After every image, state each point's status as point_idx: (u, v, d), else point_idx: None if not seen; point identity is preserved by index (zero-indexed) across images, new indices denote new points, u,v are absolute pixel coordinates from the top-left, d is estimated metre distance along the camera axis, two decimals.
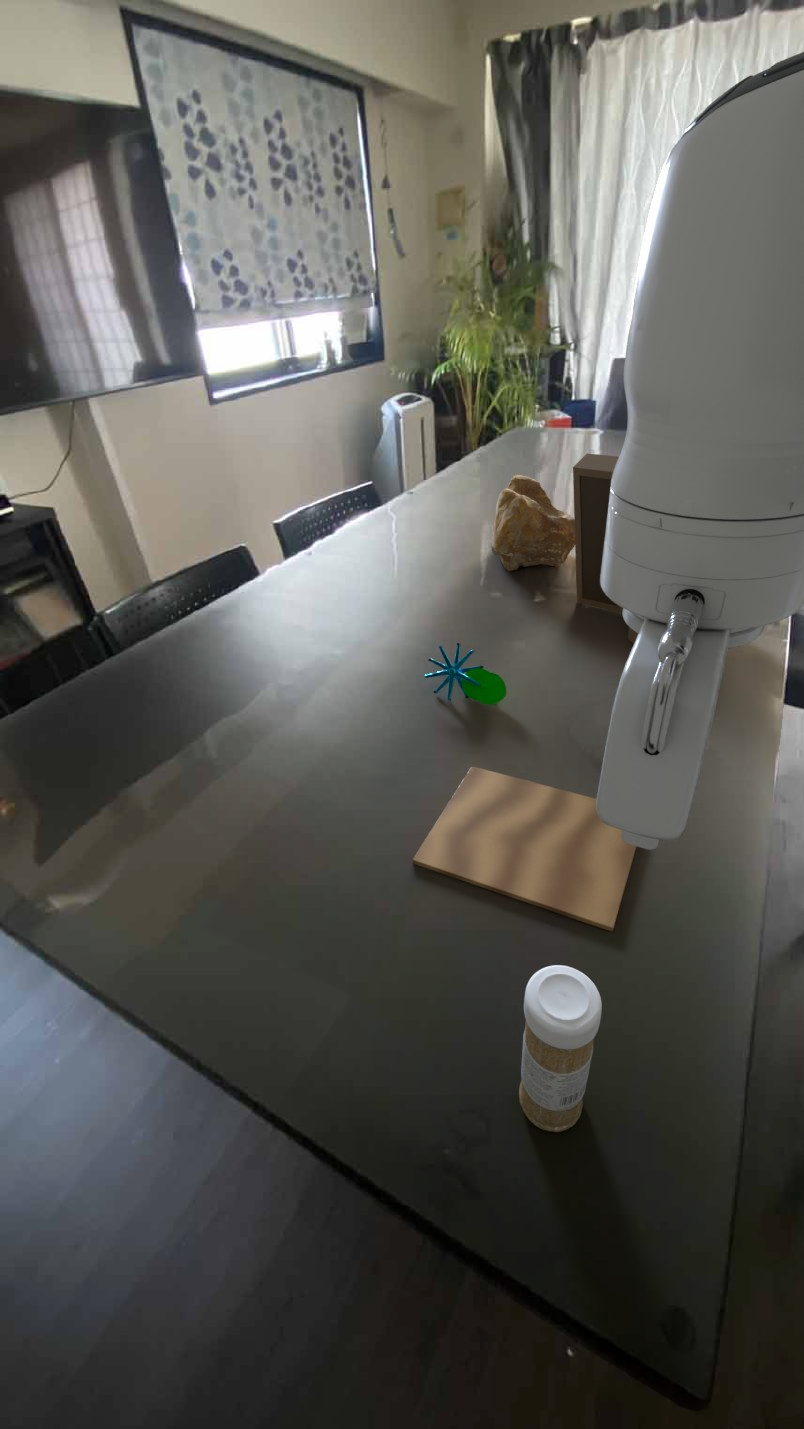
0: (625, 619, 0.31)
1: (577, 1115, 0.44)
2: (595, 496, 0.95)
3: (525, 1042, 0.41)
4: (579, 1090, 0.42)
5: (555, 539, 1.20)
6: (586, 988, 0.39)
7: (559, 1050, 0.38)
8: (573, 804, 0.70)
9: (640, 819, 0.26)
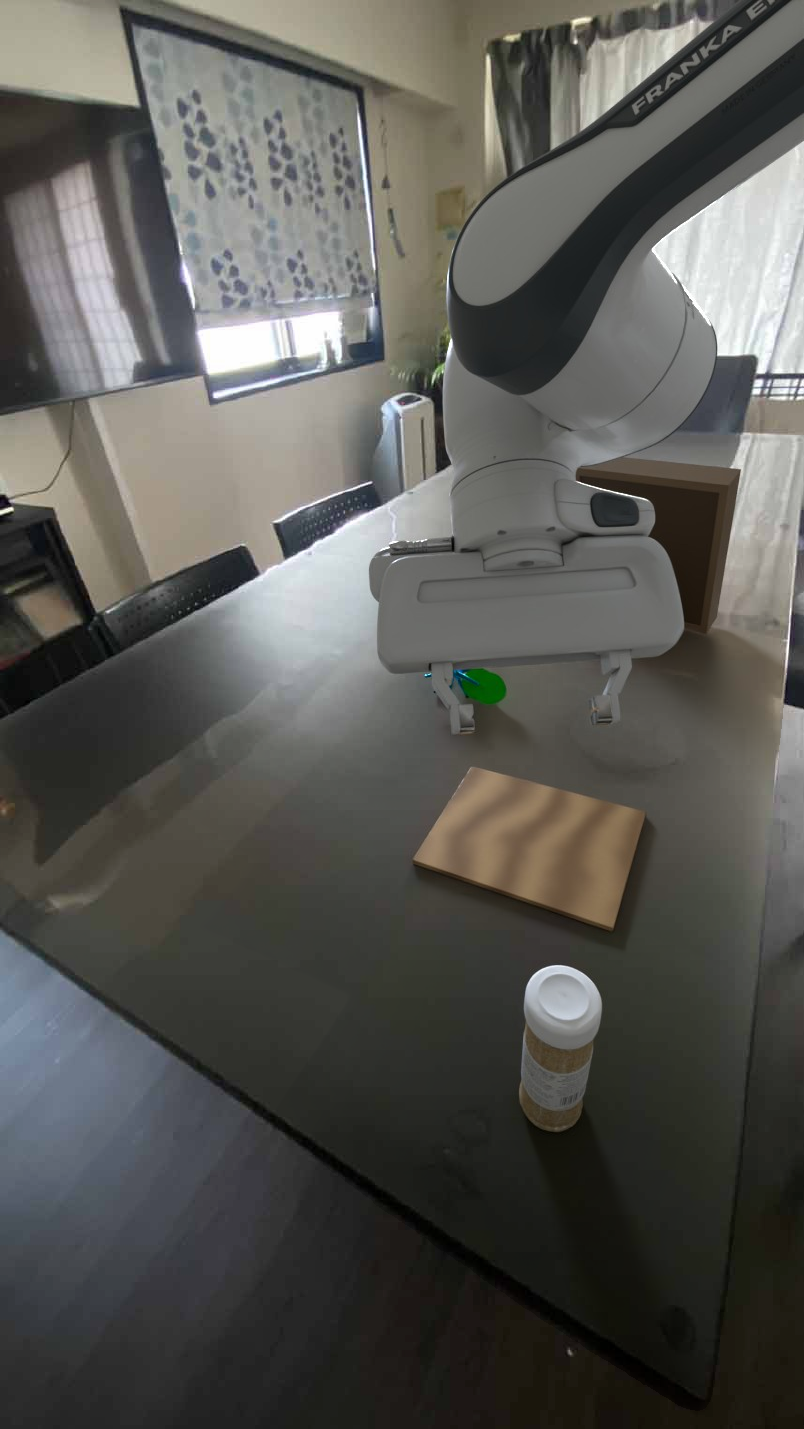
0: None
1: (577, 1115, 0.44)
2: None
3: (525, 1042, 0.41)
4: (579, 1090, 0.42)
5: None
6: (586, 988, 0.39)
7: (559, 1050, 0.38)
8: (573, 804, 0.70)
9: None
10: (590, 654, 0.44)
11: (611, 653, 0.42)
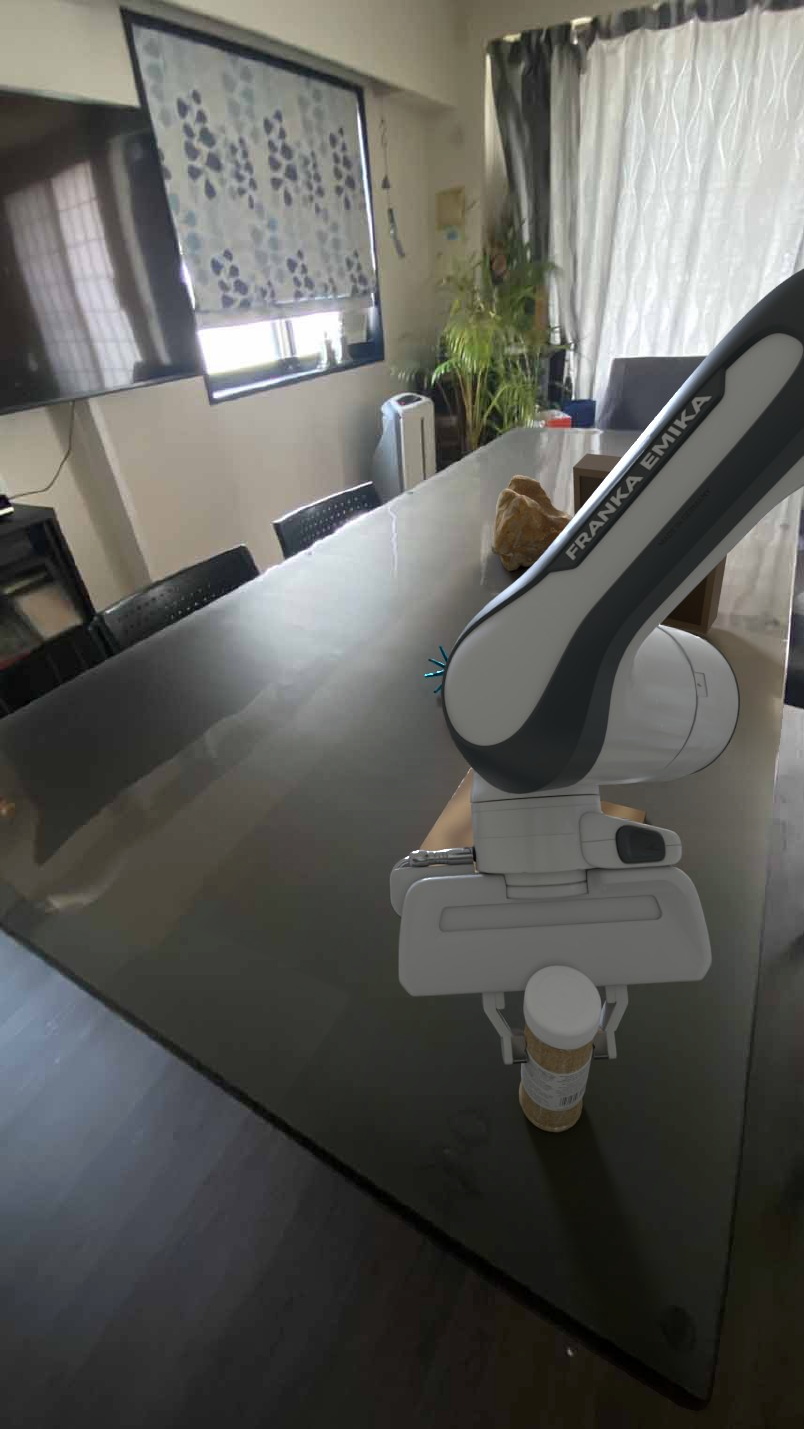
0: None
1: (577, 1115, 0.44)
2: None
3: None
4: (579, 1090, 0.42)
5: None
6: (586, 988, 0.39)
7: (559, 1050, 0.38)
8: None
9: None
10: None
11: (607, 986, 0.41)
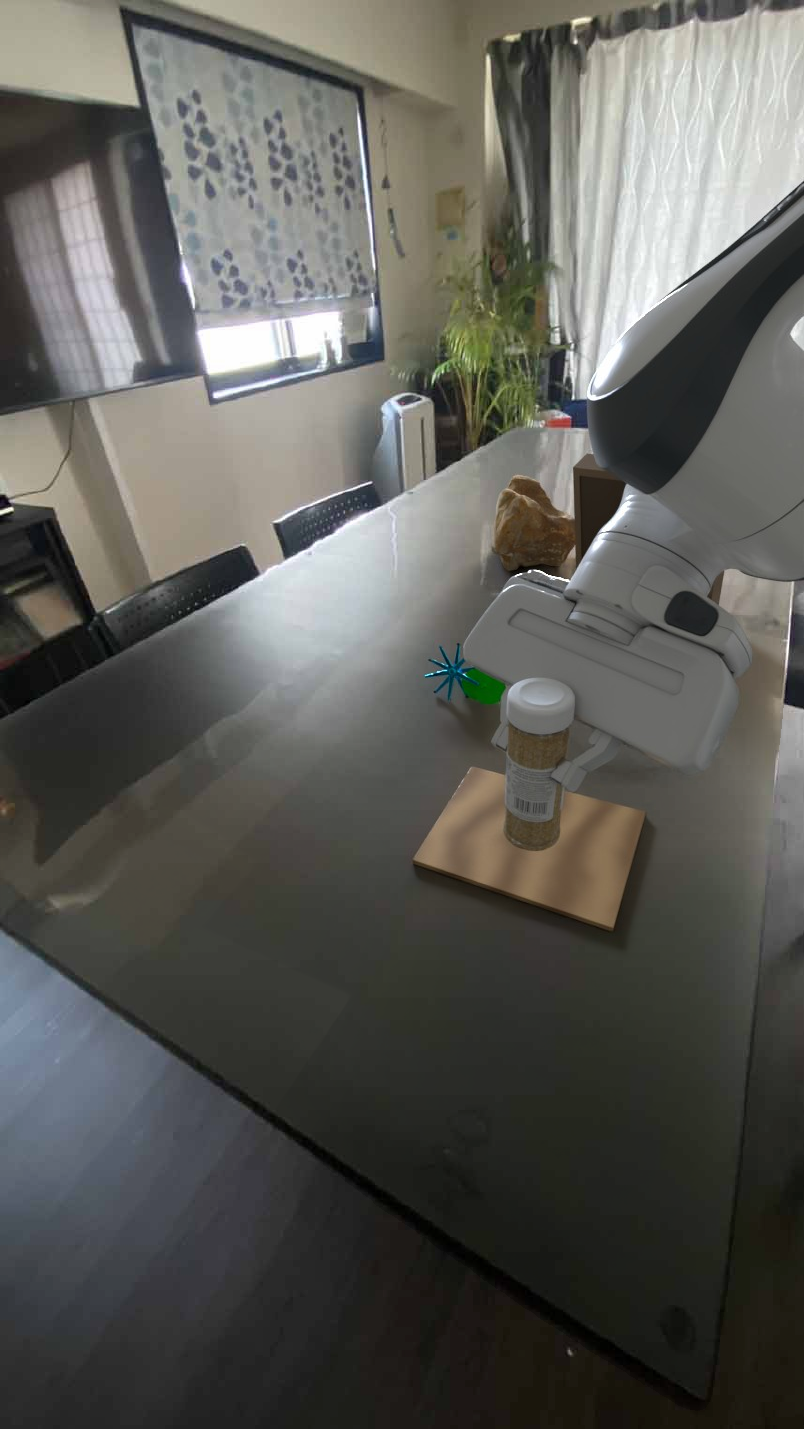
0: None
1: (534, 845, 0.49)
2: (595, 496, 0.95)
3: None
4: (531, 802, 0.46)
5: (555, 539, 1.20)
6: (562, 699, 0.43)
7: (513, 729, 0.44)
8: (573, 804, 0.70)
9: None
10: None
11: (596, 730, 0.43)
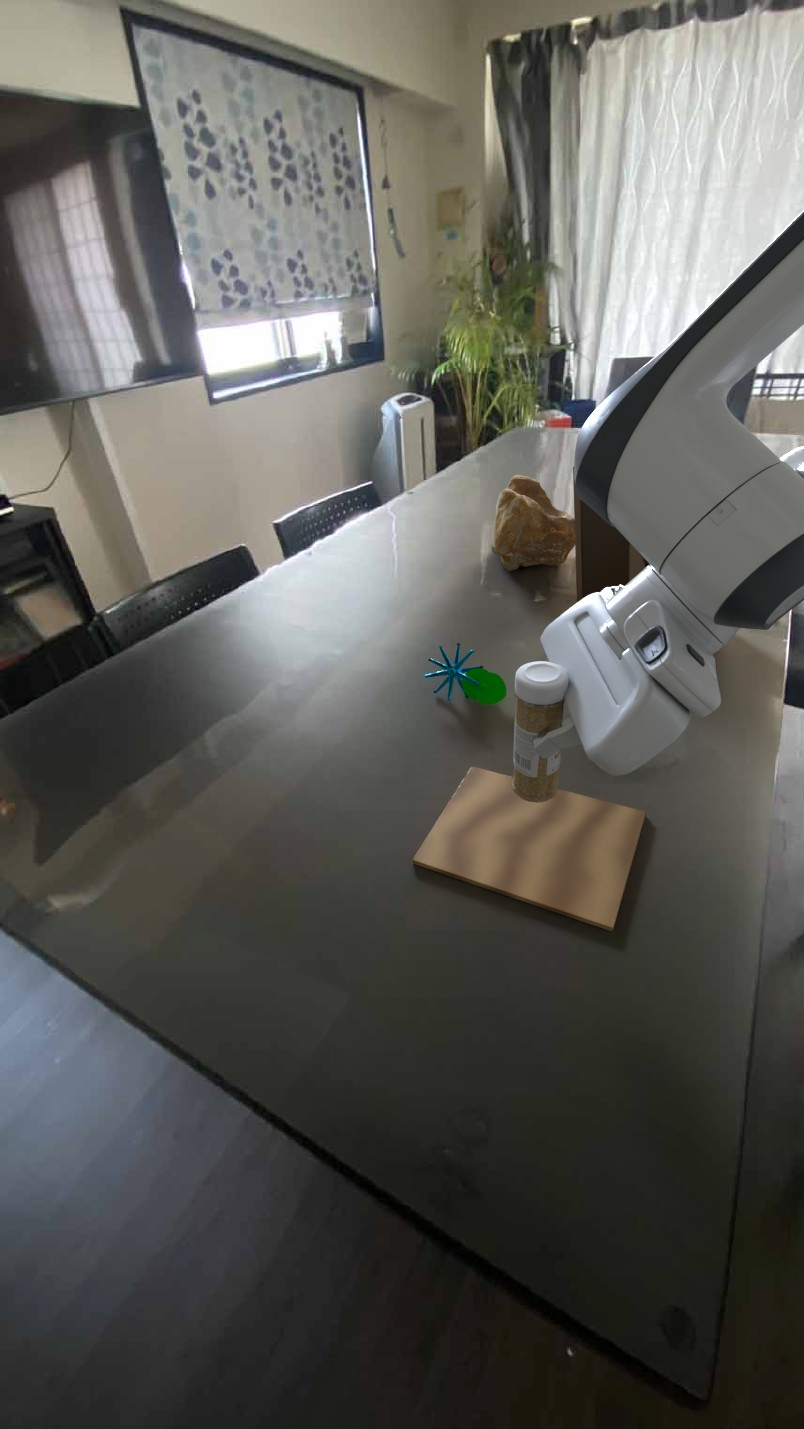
0: None
1: (523, 794, 0.61)
2: None
3: None
4: (520, 755, 0.59)
5: (555, 539, 1.20)
6: (550, 681, 0.54)
7: None
8: (573, 804, 0.70)
9: None
10: None
11: (571, 716, 0.54)
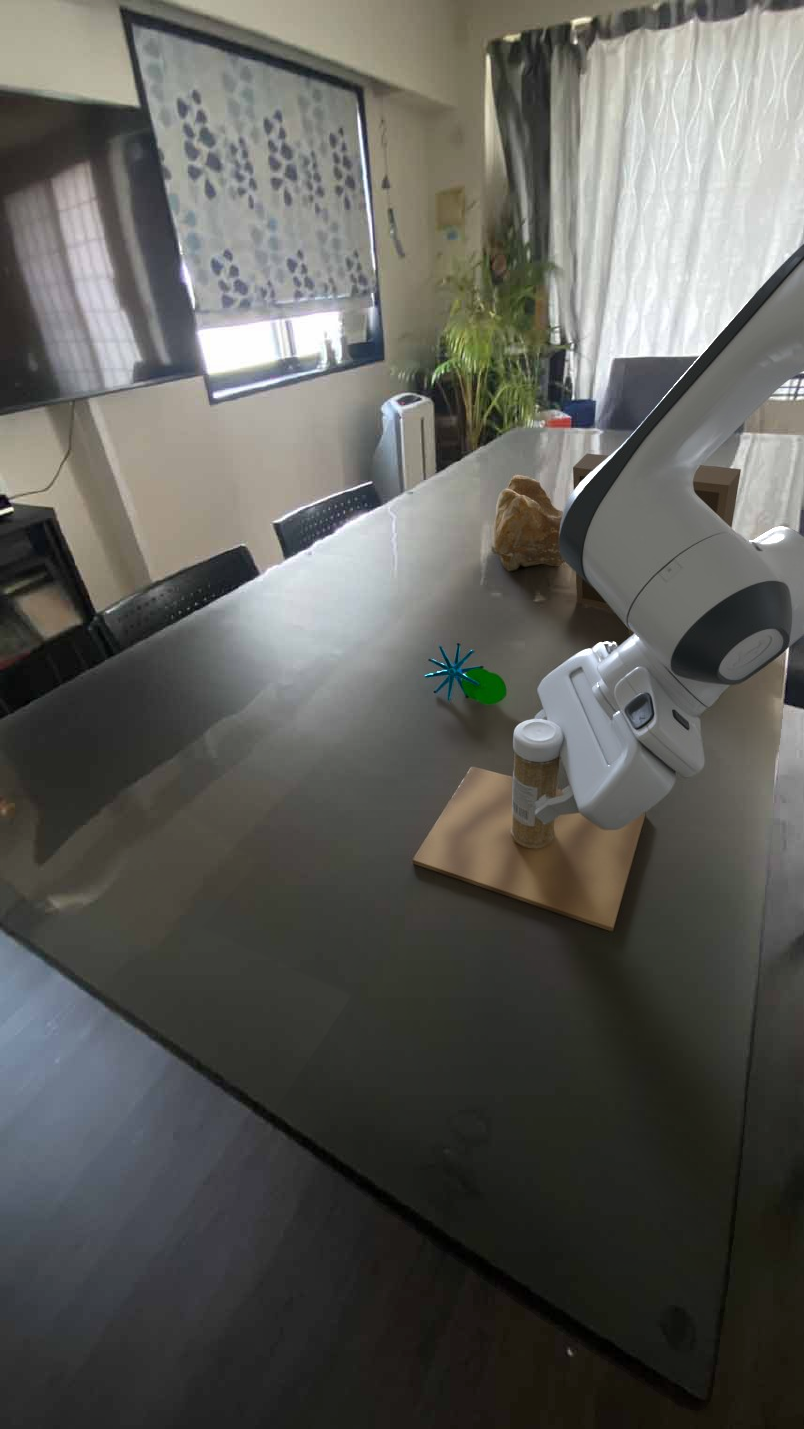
0: None
1: (521, 840, 0.65)
2: None
3: None
4: (518, 806, 0.63)
5: (555, 539, 1.20)
6: (546, 741, 0.58)
7: None
8: None
9: None
10: None
11: None
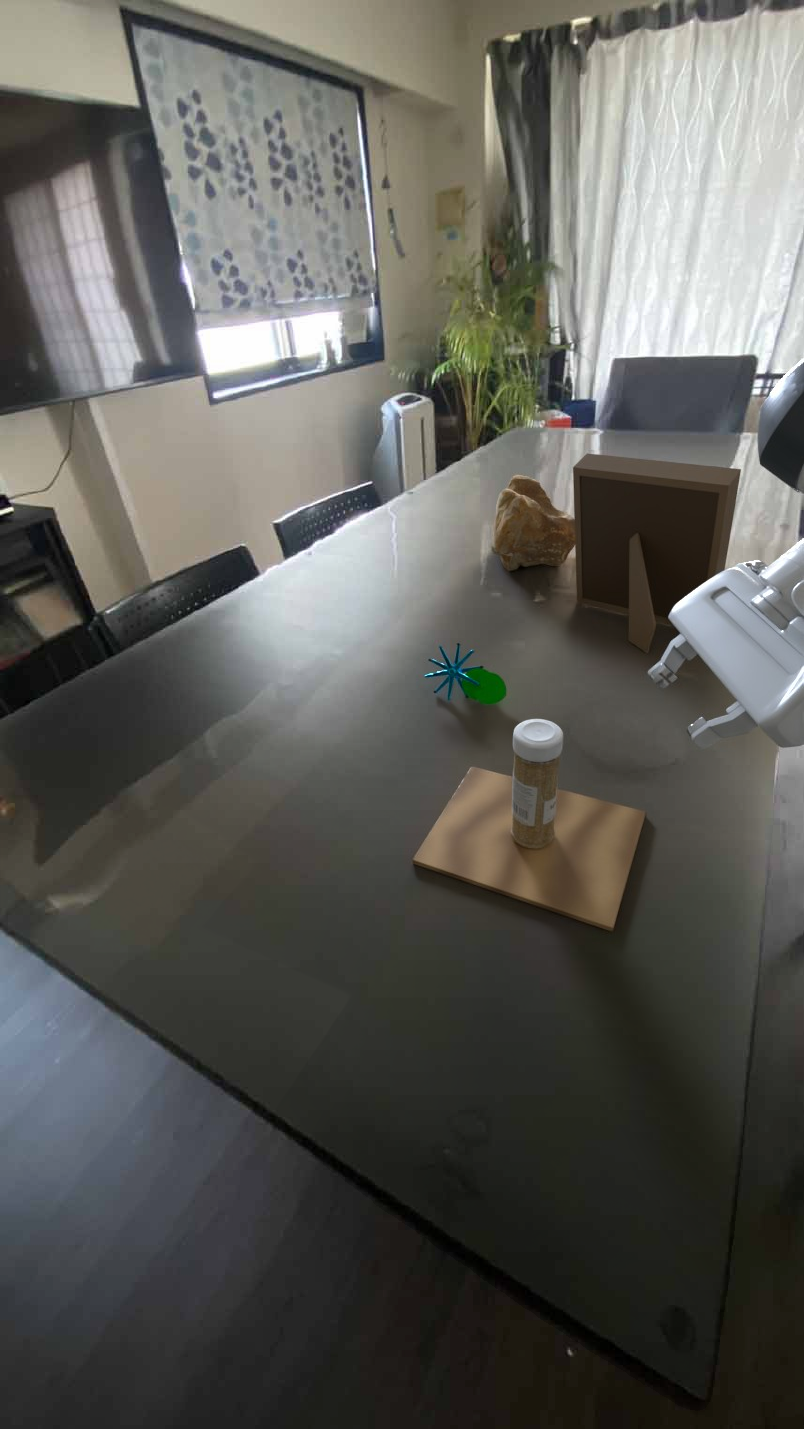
0: None
1: (521, 840, 0.65)
2: (595, 496, 0.95)
3: None
4: (518, 806, 0.63)
5: (555, 539, 1.20)
6: (546, 741, 0.58)
7: None
8: (573, 804, 0.70)
9: None
10: None
11: (737, 703, 0.51)
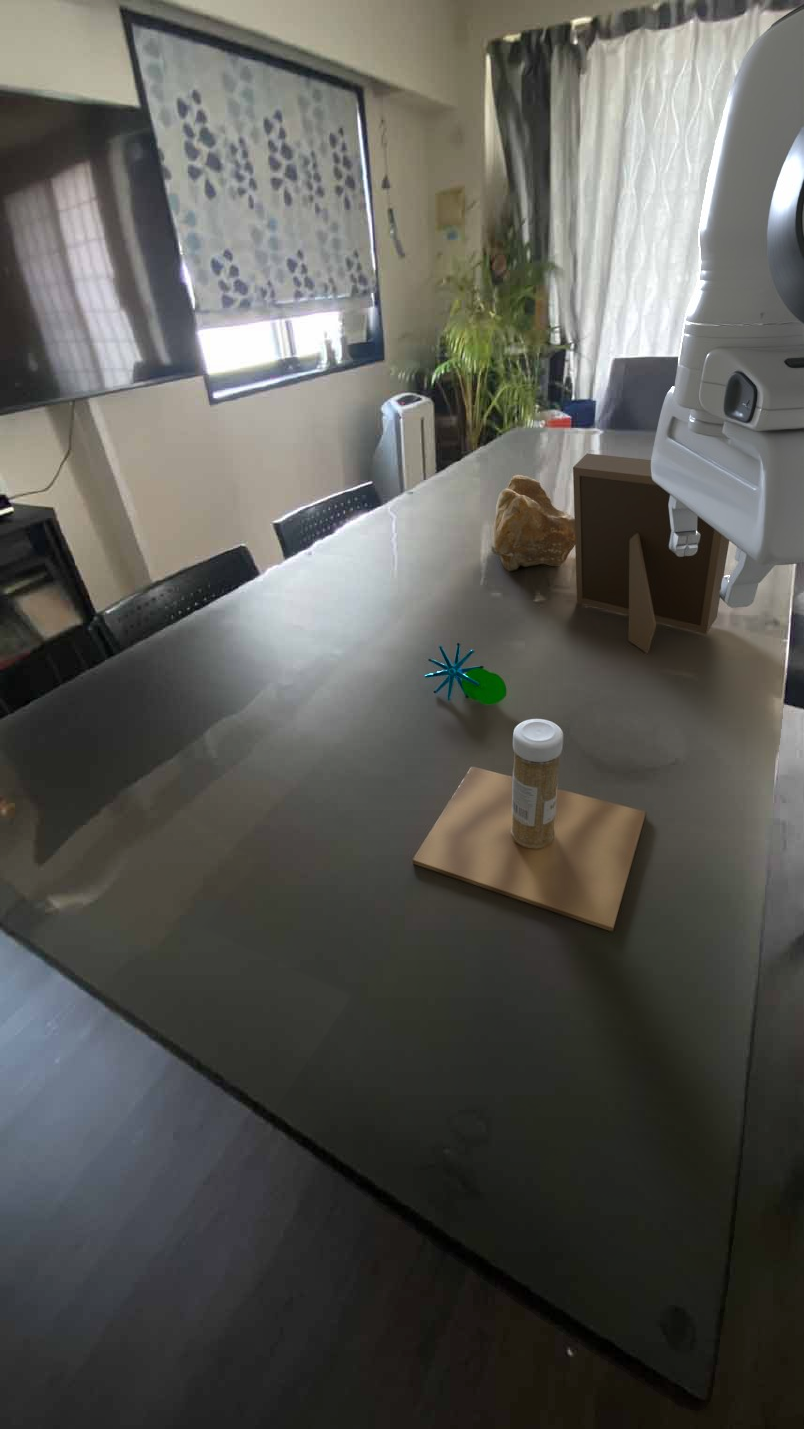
0: None
1: (521, 840, 0.65)
2: (595, 496, 0.95)
3: None
4: (518, 806, 0.63)
5: (555, 539, 1.20)
6: (546, 740, 0.58)
7: None
8: (573, 804, 0.70)
9: None
10: None
11: None
